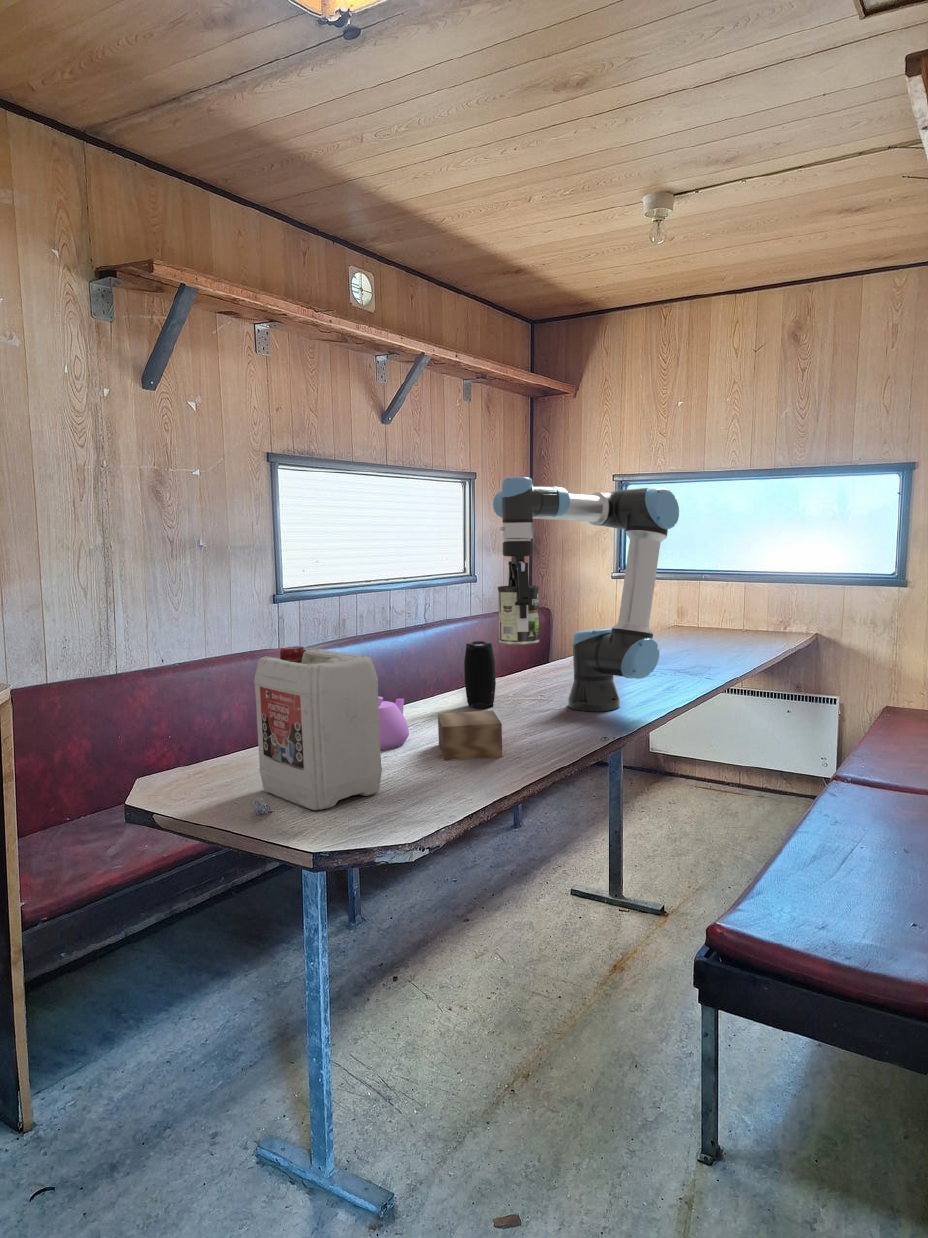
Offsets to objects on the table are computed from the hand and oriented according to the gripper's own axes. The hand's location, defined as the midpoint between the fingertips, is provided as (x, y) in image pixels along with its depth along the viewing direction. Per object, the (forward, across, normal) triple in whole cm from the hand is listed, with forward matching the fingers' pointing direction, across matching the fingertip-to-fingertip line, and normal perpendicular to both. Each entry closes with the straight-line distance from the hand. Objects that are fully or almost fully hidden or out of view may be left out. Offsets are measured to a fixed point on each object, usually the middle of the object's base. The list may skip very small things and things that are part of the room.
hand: (518, 629), depth 202 cm
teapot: (+29, -4, -36) cm, 46 cm away
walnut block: (+29, +8, -14) cm, 33 cm away
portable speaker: (+28, -40, -5) cm, 50 cm away
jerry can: (+29, +33, -48) cm, 65 cm away
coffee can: (+4, 0, 0) cm, 4 cm away
